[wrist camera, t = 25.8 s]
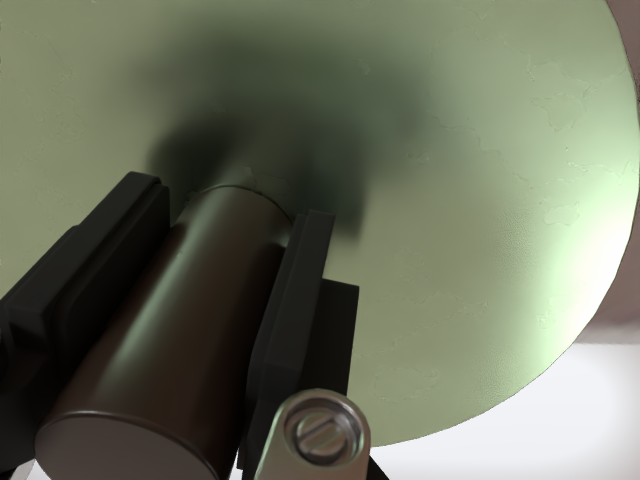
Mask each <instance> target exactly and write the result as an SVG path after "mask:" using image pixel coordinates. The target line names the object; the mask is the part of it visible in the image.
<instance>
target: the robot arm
mask: <svg viewBox="0 0 640 480" xmlns="http://www.w3.org/2000/svg"><path fill="white" fill-rule="evenodd" d="M335 217H336V215H334V214H329V213H325V212H320V211H316V210H311V209H310V210H309V212H308V216H305V215H300V214H297V217H296V220H295V223H294V226H293V229H292V232H291V235H290V238H289V241H288V244H287V247H286V250H285V253H284V256H283V259H282V262H281V265H280V268H279V271H278V274H277V277H276V280H275V283H274V286H273V289H272V292H271V295H270V298H269V301H268V304H267V307H266V310H265V313H264V316H263V319H262V322H261V325H260V328H259V331H258V334H257V337H256V340H255V343H254V347H253V351H252V354H251V359H250V363H249V369H248V376H247V384H246V393H245V401H244V409H243V412H244V417H245V427H244V431H243V435H242V438H241V441H240V445H239V450H238V458H237V467H236V468H237V469H241V470H243V473H242V480H389V478H388V477H387V476H386V475H385V473H384V472H383V471H382V470H381V469H380V467H379V466H378V465H377V464H376V462H375V461H374V460H373V459H372V457H371V456H370V455H369V454H370V447H371V430H370V427H369V424H368V422H367V419H366V416H365V415H364V414H363V412H362V411H361V410H360V408H359V407H358V406H357V405H356V404H355V403H354V402H352V401H351V400H350V399H348V398H347V390H348V382H349V374H350V365H351V357H352V349H353V341H354V332H355V324H356V316H357V308H358V300H359V290H360V287H359V286H357V285H352V284H348V283H343V282H339V281H334V280H329V279H325V278H322V277H323V272H324V267H325V263H326V258H327V254H328V249H329V244H330V240H331V235H332V230H333V226H334V221H335ZM169 231H170V189H169V187H168V186H166V185H162V181H161V178H160V177H158V176H153V175H149V174H144V173H139V172H135V171H130V172H129V173H127V174H126V175H125V176H124V177H123V179H122V180H121V181H120V182H119V183H118V184H117V185H116V186H115V187H114V188H113V189H112V190H111V191H110V192H109V193H108V194H107V195H106V197H105V198H104V199H103V200H102V201H101V202H100V203H99V204H98V205H97V206H96V207H95V208H94V209H93V210H92V211H91V212H90V213H89V214H88V216H87V217H86V218H85V219H84V220H83V221H82V222H81V223H80V224H79V225H75V226H72V227H71V228H70V229H68V230H67V231H66V232H65V233H64V234H63V235H62V236H61V237H60V238H59V239H58V240H57V241H56V242H55V244H54V245H53V246H52V247H51V248H50V249H49V250H48V251H47V252H46V253H45V254H44V255H43V256H42V257H41V258H40V259H39V260H38V261H37V262H36V263H35V264H34V265H33V266H32V267H31V268H30V269H29V270H28V272H27V273H26V274H25V275H24V276H23V277H22V278H21V279H20V280H19V281H18V282H17V283H16V284H15V285H14V286H13V287H12V288H11V289H10V290H9V291H8V292H7V293H6V294H5V295H4V296H3V297H2V298H1V299H0V480H26V479H27V477H28V475H29V473H30V472H31V470H32V467H33V465H34V462H35V459H36V458H35V456H34V453H33V447H32V443H33V435H34V432H35V429H36V428H37V426H38V425H39V423H40V422H41V420H42V419H43V417H44V416H45V414H46V413H47V411H48V410H49V408H50V407H51V405H52V404H53V402H54V401H55V399H56V398H57V396H58V395H59V394H60V392H61V391H62V389H63V388H64V386H65V385H66V383H67V382H68V380H69V379H70V377H71V376H72V374H73V373H74V371H75V370H76V368H77V367H78V365H79V364H80V362H81V361H82V359H83V358H84V356H85V355H86V354H87V352H88V351H89V349H90V348H91V346H92V345H93V343H94V342H95V340H96V339H97V337H98V336H99V334H100V333H101V331H102V330H103V328H104V327H105V325H106V324H107V322H108V321H109V319H110V318H111V317H112V315H113V314H114V312H115V311H116V309H117V308H118V306H119V305H120V303H121V302H122V300H123V299H124V297H125V296H126V294H127V293H128V291H129V290H130V288H131V287H132V285H133V284H134V282H135V281H136V279H137V278H138V277H139V275H140V274H141V272H142V271H143V269H144V268H145V266H146V265H147V263H148V262H149V260H150V259H151V257H152V256H153V254H154V253H155V251H156V250H157V248H158V247H159V245H160V244H161V242H162V241H163V240H164V238H165V237H166V235H167V234H168V232H169Z"/></svg>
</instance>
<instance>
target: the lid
mask: <svg viewBox="0 0 640 480" xmlns="http://www.w3.org/2000/svg"><path fill="white" fill-rule="evenodd" d="M130 171H135V172H139V173H144V174H149V175H153V176H158V177H160V178H161V181H162V185H166V186H168V187H169V189H170V231H169V232H168V234H167V235H166V237H165V238H164V240H163V241H162V242H161V244H160V245H159V247H158V248H157V250H156V251H155V253H154V254H153V256H152V257H151V259H150V260H149V262H148V263H147V265H146V266H145V268H144V269H143V271H142V272H141V274H140V275H139V277H138V278H137V279H136V281H135V282H134V284H133V285H132V287H131V288H130V290H129V291H128V293H127V294H126V296H125V297H124V299H123V300H122V302H121V303H120V305H119V306H118V308H117V309H116V311H115V312H114V314H113V315H112V317H111V318H110V319H109V321H108V322H107V324H106V325H105V327H104V328H103V330H102V331H101V333H100V334H99V336H98V337H97V339H96V340H95V342H94V343H93V345H92V346H91V348H90V349H89V351H88V352H87V354H86V355H85V356H84V358H83V359H82V361H81V362H80V364H79V365H78V367H77V368H76V370H75V371H74V373H73V374H72V376H71V377H70V379H69V380H68V382H67V383H66V385H65V386H64V388H63V389H62V391H61V392H60V394H59V395H58V396H57V398H56V399H55V401H54V402H53V404H52V405H51V407H50V408H49V410H48V411H47V413H46V414H45V416H44V417H43V419H42V420H41V422H40V423H39V425H38V426H37V428H36V429H35V432H34V435H33V443H32V447H33V453H34V456H35V458H36V460H37V462H38V464H39V465H40V467H41V468H42V469H43V471H44V472H45V473H46V475H47V476H48V477H49V478H50V479H51V480H229V478H230V475H231V471H232V468H233V465H234V461H235V458H236V455H237V451H238V448H239V445H240V441H241V438H242V435H243V431H244V427H245V417H244V412H243V409H244V401H245V393H246V384H247V376H248V369H249V363H250V359H251V354H252V351H253V347H254V343H255V340H256V337H257V334H258V331H259V328H260V325H261V322H262V319H263V316H264V313H265V310H266V307H267V304H268V301H269V298H270V295H271V292H272V289H273V286H274V283H275V280H276V277H277V274H278V271H279V268H280V265H281V262H282V259H283V256H284V253H285V250H286V247H287V244H288V241H289V238H290V235H291V232H292V229H293V226H294V223H295V220H296V217H297V214H300V215H305V216H308V212H309V210H310V209H311V210H316V211H320V212H325V213H329V214H334V215H336V217H335V221H334V226H333V230H332V235H331V240H330V244H329V249H328V254H327V258H326V263H325V267H324V272H323V277H322V278H325V279H329V280H334V281H339V282H343V283H348V284H352V285H357V286H359V287H360V290H359V300H358V308H357V316H356V324H355V332H354V341H353V349H352V357H351V365H350V374H349V382H348V390H347V398H348V399H350V400H351V401H352V402H354V403H355V404H356V405H357V406H358V407H359V408H360V410H361V411H362V412H363V414H364V415H365V416H366V419H367V422H368V424H369V427H370V430H371V447H379V446H386V445H391V444H395V443H399V442H404V441H408V440H413V439H417V438H420V437H424V436H427V435H429V434H433V433H436V432H439V431H442V430H444V429H448V428H450V427H453V426H455V425H458V424H460V423H462V422H464V421H467V420H469V419H471V418H473V417H475V416H478V415H480V414H482V413H484V412H486V411H488V410H489V409H491V408H493V407H494V406H496V405H498V404H499V403H501V402H503V401H505V400H506V399H508V398H510V397H511V396H513V395H515V394H516V393H517V392H518V391H520V390H521V389H522V388H524V387H525V386H526V385H528V384H529V383H530V382H532V381H533V380H534V379H536V378H537V377H538V376H540V375H541V374H542V373H543V372H544V371H545V370H547V369H548V368H549V366H551V365H552V364H553V363H554V362H555V361H556V360H557V359H558V358H559V357H560V356H561V355H562V354H563V353H564V352H565V351H566V350H567V349H568V348H569V347H570V346H571V345H572V343H573V342H574V341H575V339H576V338H577V337H578V336H579V334H580V333H581V332H582V330H583V329H584V328H585V326H586V325H587V324H588V323H589V321H590V320H591V319H592V317H593V316H594V315H595V313H596V311H597V310H598V308H599V306H600V304H601V302H602V301H603V299H604V297H605V295H606V294H607V292H608V290H609V288H610V287H611V285H612V283H613V281H614V279H615V277H616V275H617V272H618V269H619V267H620V264H621V261H622V259H623V256H624V253H625V251H626V248H627V246H628V243H629V240H630V238H631V233H632V228H633V223H634V219H635V214H636V209H637V204H638V199H639V194H640V115H639V107H638V99H637V91H636V83H635V79H634V76H633V73H632V70H631V66H630V63H629V60H628V56H627V53H626V50H625V46H624V43H623V40H622V36H621V33H620V30H619V27H618V24H617V22H616V20H615V18H614V16H613V13H612V11H611V9H610V7H609V5H608V3H607V1H606V0H0V299H1V298H2V297H3V296H4V295H5V294H6V293H7V292H8V291H9V290H10V289H11V288H12V287H13V286H14V285H15V284H16V283H17V282H18V281H19V280H20V279H21V278H22V277H23V276H24V275H25V274H26V273H27V272H28V270H29V269H30V268H31V267H32V266H33V265H34V264H35V263H36V262H37V261H38V260H39V259H40V258H41V257H42V256H43V255H44V254H45V253H46V252H47V251H48V250H49V249H50V248H51V247H52V246H53V245H54V244H55V242H56V241H57V240H58V239H59V238H60V237H61V236H62V235H63V234H64V233H65V232H66V231H67V230H68V229H70V228H71V227H72V226H75V225H79V224H80V223H81V222H82V221H83V220H84V219H85V218H86V217H87V216H88V214H89V213H90V212H91V211H92V210H93V209H94V208H95V207H96V206H97V205H98V204H99V203H100V202H101V201H102V200H103V199H104V198H105V197H106V195H107V194H108V193H109V192H110V191H111V190H112V189H113V188H114V187H115V186H116V185H117V184H118V183H119V182H120V181H121V180H122V179H123V177H124V176H125V175H126V174H127V173H129V172H130ZM371 447H370V448H371Z"/></svg>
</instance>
